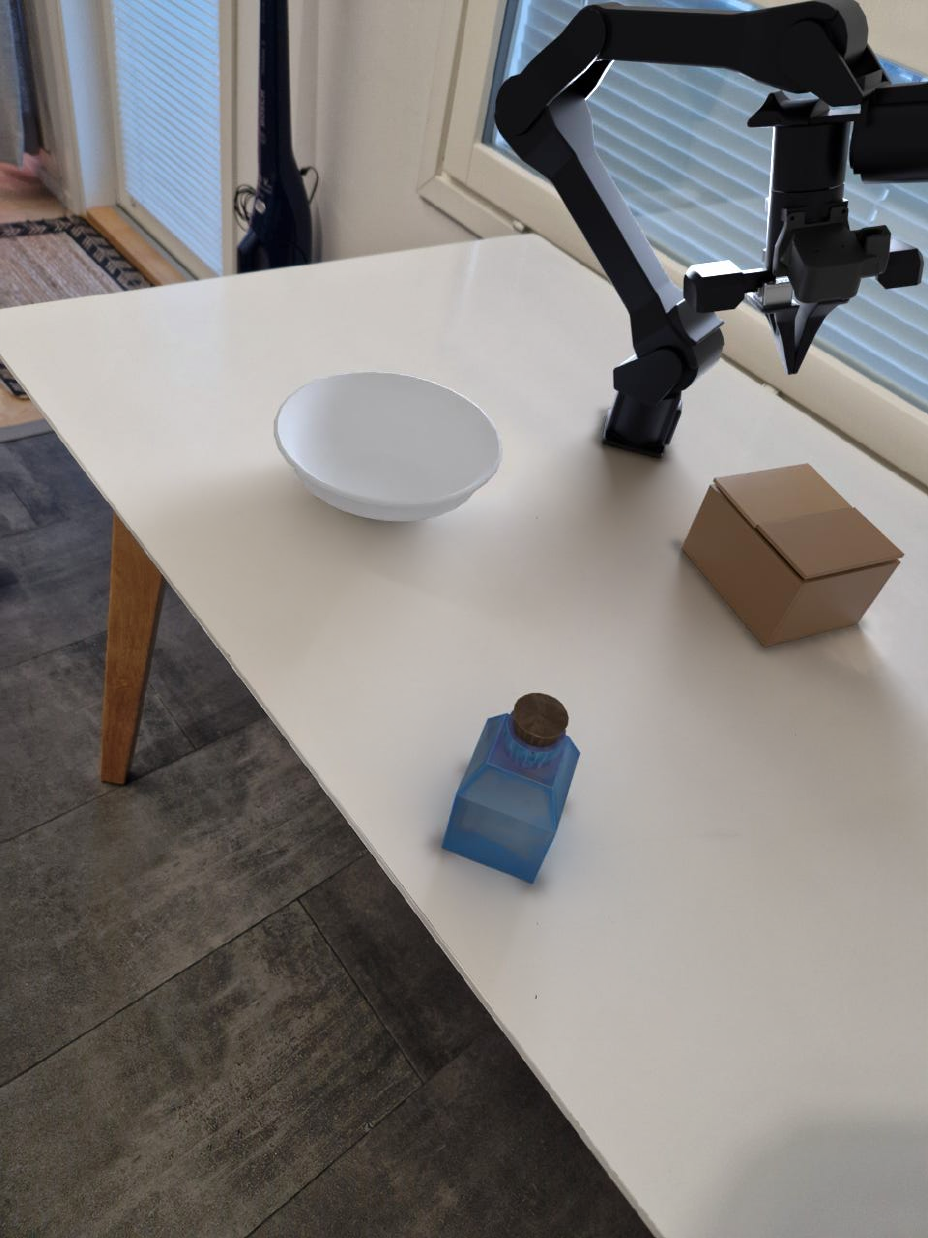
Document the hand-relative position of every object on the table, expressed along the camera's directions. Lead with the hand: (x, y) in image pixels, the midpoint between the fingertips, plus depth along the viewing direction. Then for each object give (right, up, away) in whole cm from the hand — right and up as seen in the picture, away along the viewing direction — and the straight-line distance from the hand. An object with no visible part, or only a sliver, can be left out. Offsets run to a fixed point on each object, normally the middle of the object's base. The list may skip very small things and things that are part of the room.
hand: (790, 373), depth 79 cm
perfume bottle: (-28, -36, -22) cm, 51 cm away
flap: (-2, -12, -4) cm, 13 cm away
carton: (-2, -19, -1) cm, 20 cm away
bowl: (-37, -11, 0) cm, 39 cm away
